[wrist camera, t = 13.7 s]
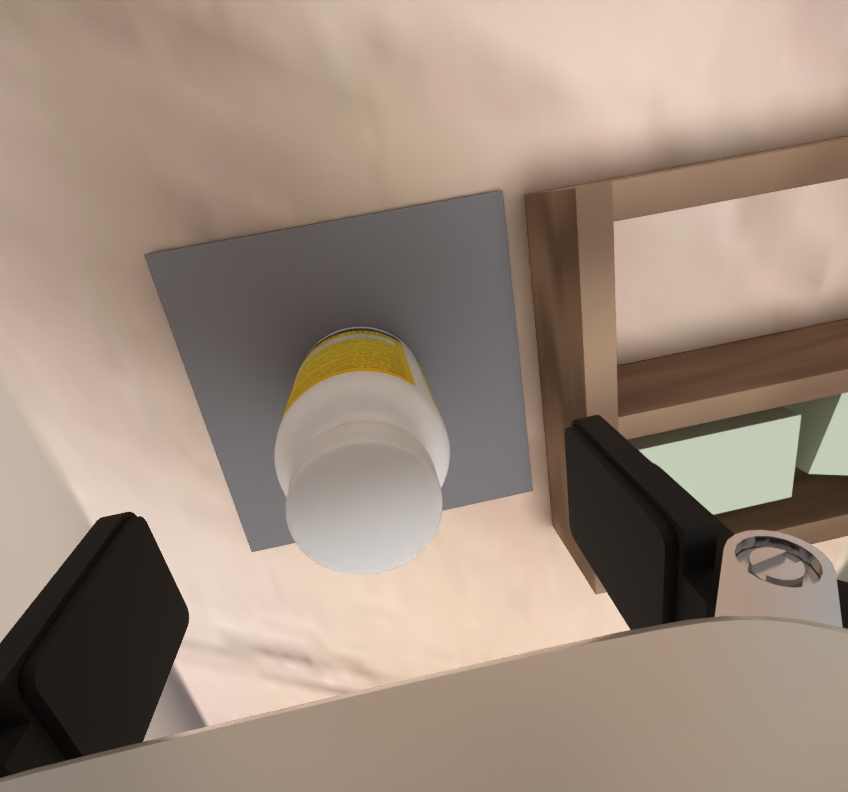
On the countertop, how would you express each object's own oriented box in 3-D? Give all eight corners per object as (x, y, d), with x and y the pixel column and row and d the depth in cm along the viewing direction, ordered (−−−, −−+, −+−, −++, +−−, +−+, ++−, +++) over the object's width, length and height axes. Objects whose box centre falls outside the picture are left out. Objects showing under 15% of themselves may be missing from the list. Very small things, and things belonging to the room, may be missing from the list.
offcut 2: (759, 356, 24) (844, 386, 20) (879, 366, 25) (983, 396, 21) (733, 431, 26) (808, 473, 21) (848, 437, 27) (940, 479, 22)
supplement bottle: (269, 380, 21) (205, 507, 12) (367, 297, 20) (378, 364, 11) (355, 464, 23) (357, 630, 14) (446, 390, 22) (512, 513, 13)
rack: (524, 194, 20) (575, 188, 15) (972, 113, 21) (1145, 85, 17) (552, 526, 26) (595, 594, 21) (902, 448, 27) (1015, 496, 22)
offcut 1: (589, 408, 24) (638, 449, 20) (725, 380, 24) (801, 414, 20) (593, 479, 25) (639, 531, 21) (721, 451, 26) (791, 496, 22)
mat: (148, 253, 19) (144, 254, 19) (499, 190, 20) (502, 190, 19) (253, 546, 24) (251, 552, 24) (530, 486, 25) (532, 490, 24)
